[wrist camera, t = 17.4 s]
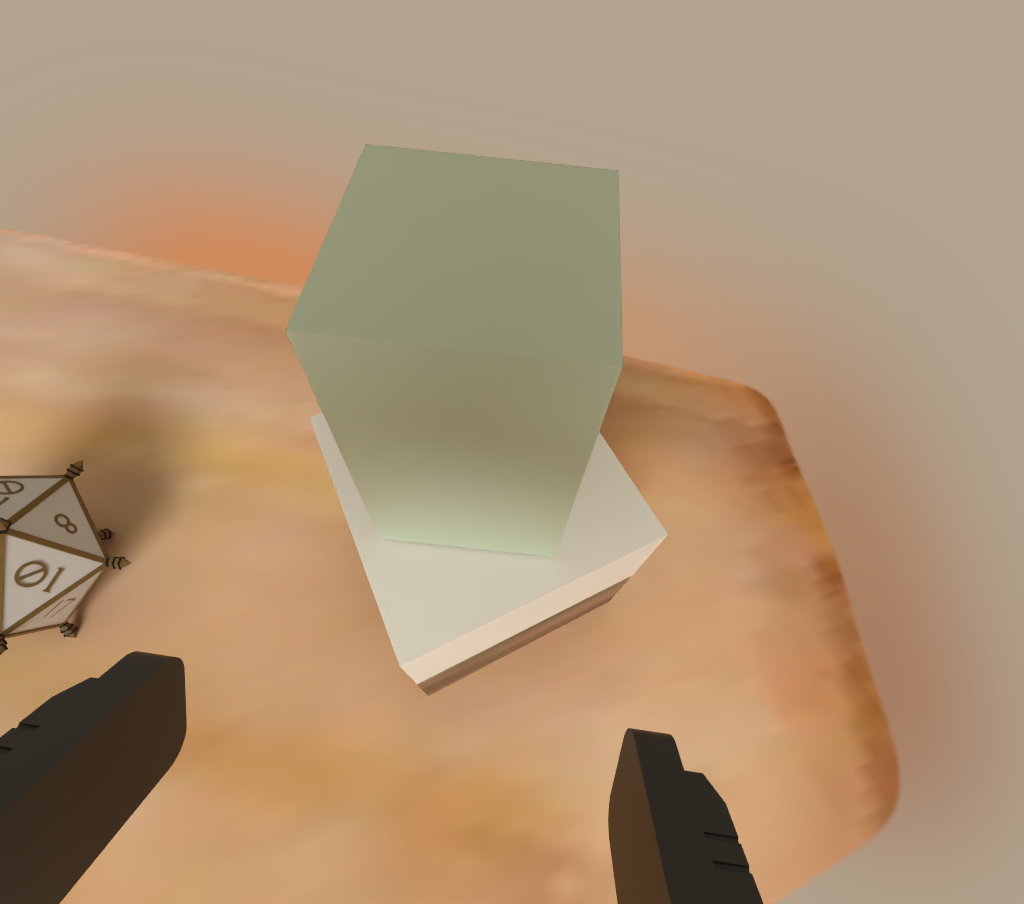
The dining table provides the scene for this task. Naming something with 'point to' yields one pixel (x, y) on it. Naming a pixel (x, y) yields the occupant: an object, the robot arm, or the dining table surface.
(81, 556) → the game die
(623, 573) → the tower top
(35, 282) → the dining table surface
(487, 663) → the tower bottom
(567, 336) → the sage block
